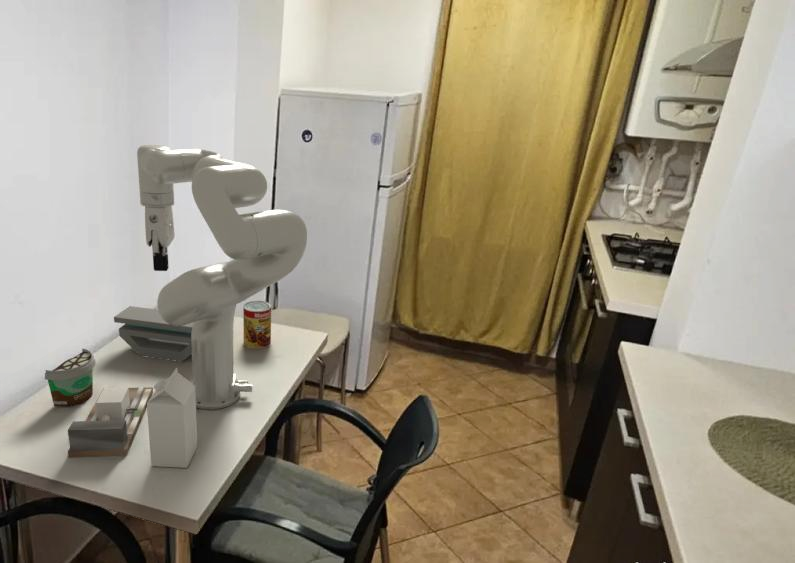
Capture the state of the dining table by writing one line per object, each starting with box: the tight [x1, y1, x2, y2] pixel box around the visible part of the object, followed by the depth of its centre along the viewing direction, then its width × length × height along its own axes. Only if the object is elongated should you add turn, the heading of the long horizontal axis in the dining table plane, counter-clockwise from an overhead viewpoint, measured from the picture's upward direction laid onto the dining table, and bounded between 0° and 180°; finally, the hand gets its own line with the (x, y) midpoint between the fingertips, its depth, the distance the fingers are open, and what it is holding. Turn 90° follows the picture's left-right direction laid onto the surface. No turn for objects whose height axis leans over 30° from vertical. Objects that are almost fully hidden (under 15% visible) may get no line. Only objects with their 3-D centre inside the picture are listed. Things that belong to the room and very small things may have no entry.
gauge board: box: [67, 385, 154, 458], centre depth 124 cm, size 24×11×6 cm, turn 11°
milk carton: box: [146, 367, 198, 469], centre depth 112 cm, size 7×7×19 cm
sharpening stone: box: [113, 305, 194, 362], centre depth 154 cm, size 25×8×11 cm, turn 84°
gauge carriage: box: [95, 387, 138, 421], centre depth 124 cm, size 7×7×5 cm
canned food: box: [242, 300, 272, 350], centre depth 164 cm, size 8×8×12 cm
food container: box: [44, 348, 96, 408], centre depth 130 cm, size 12×6×10 cm, turn 168°
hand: (161, 269), depth 140 cm, fingers closed
